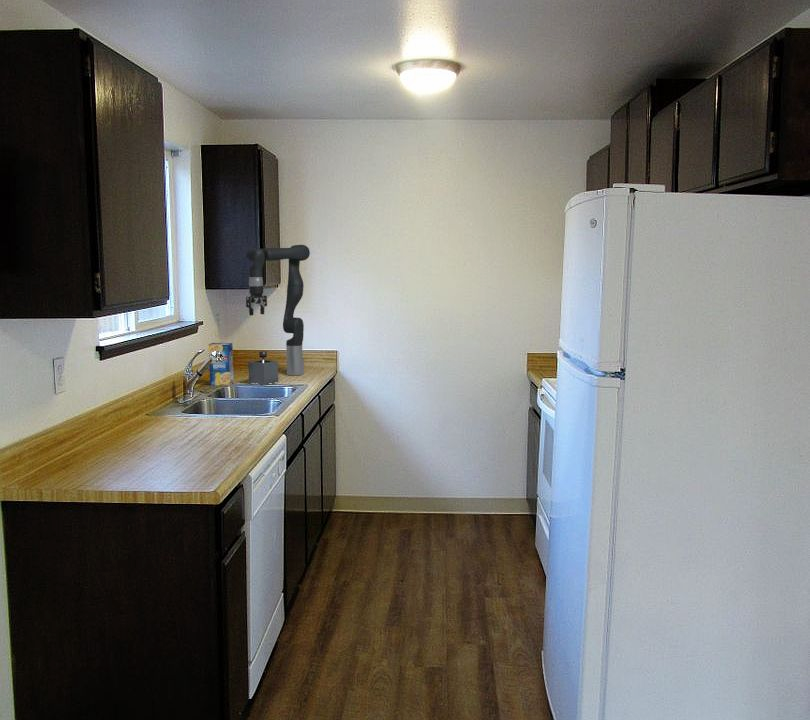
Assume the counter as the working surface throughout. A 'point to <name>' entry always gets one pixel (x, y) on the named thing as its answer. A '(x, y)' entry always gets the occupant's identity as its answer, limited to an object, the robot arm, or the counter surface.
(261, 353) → the plunger
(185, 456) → the counter surface
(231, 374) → the beverage box
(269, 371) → the gray open box
